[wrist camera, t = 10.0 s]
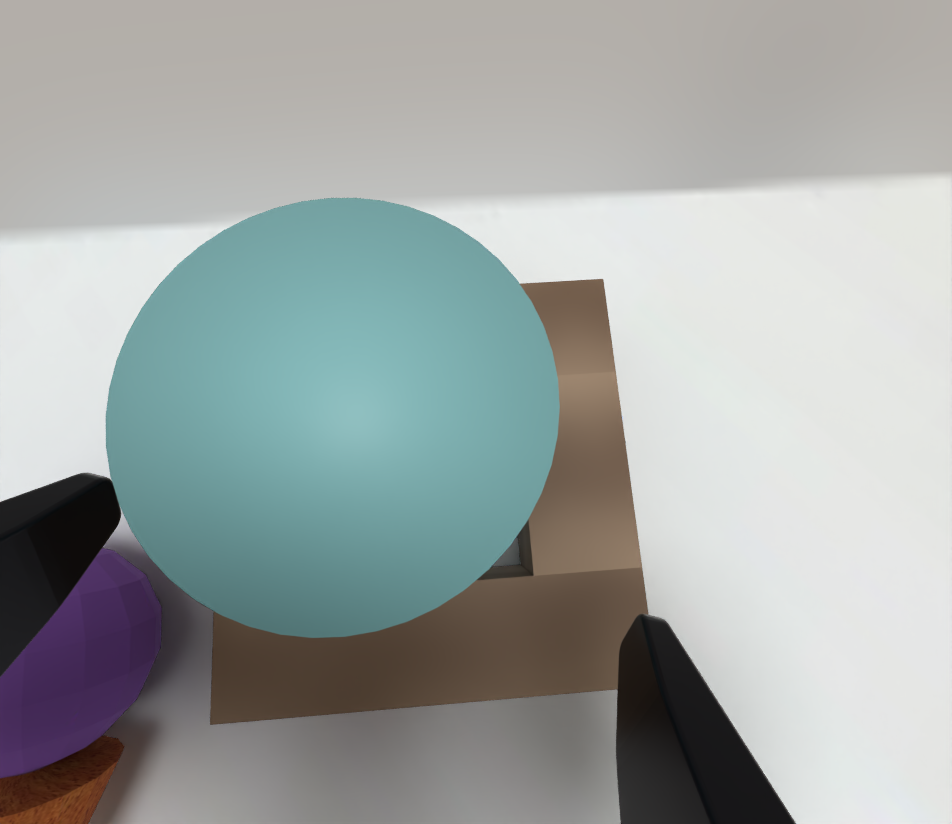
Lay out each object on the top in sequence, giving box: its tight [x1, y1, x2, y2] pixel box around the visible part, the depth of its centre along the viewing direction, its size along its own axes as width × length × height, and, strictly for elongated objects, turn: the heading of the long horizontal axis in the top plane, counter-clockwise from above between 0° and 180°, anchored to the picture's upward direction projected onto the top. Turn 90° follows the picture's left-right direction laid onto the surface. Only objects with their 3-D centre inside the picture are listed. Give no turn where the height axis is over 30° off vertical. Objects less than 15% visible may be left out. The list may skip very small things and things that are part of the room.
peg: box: [106, 198, 560, 638], centre depth 11 cm, size 4×4×14 cm
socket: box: [210, 279, 648, 725], centre depth 16 cm, size 12×12×4 cm
